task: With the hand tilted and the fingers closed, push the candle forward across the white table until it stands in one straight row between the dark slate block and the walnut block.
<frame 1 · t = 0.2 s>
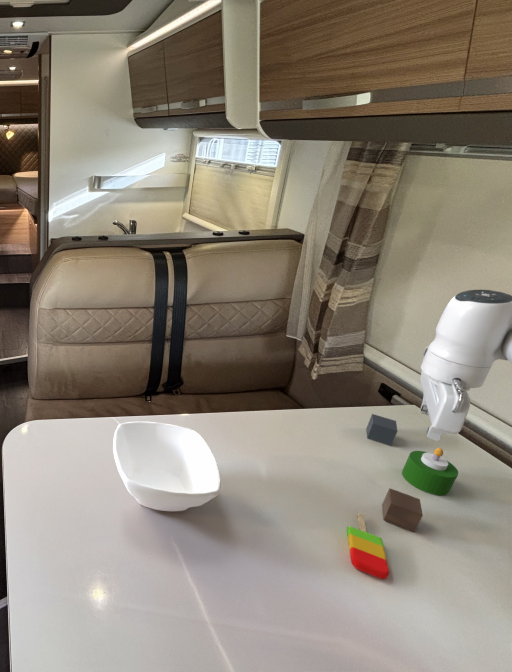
hand: (428, 424, 89), 21 cm above the table, tool pointing down, fingers open, 8 cm apart
bowl: (157, 492, 100), on the table
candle: (424, 481, 101), on the table
slate block: (378, 437, 115), on the table
walnut block: (397, 518, 92), on the table
popsicle: (363, 544, 87), on the table
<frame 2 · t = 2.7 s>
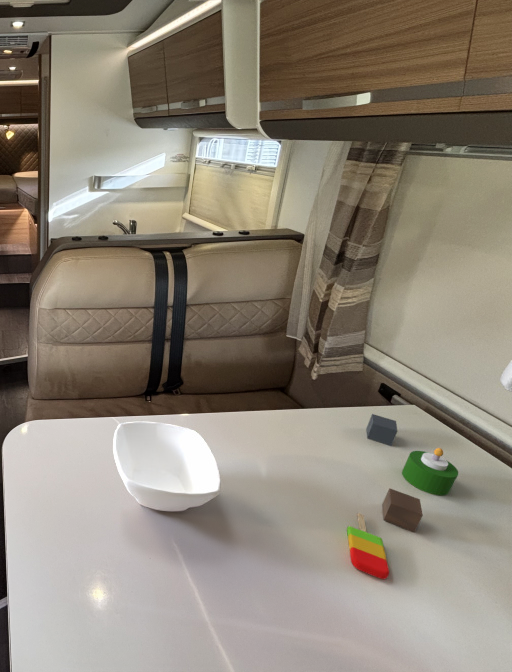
nothing on the table moved.
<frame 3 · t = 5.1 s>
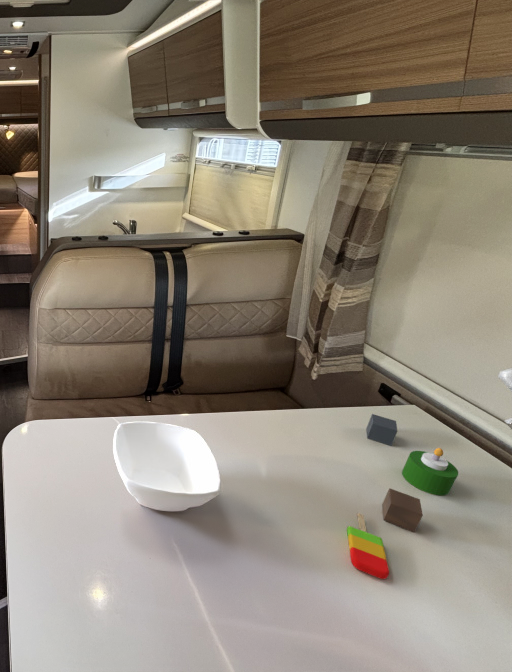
hand: (510, 427, 88), 21 cm above the table, tool tilted 50°, fingers closed
nothing on the table moved.
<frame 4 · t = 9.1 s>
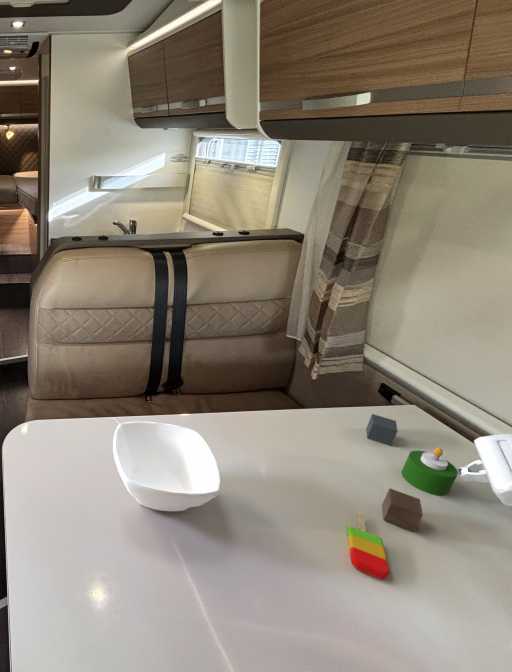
hand: (460, 475, 97), 5 cm above the table, tool tilted 45°, fingers closed, pressing on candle
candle: (424, 481, 101), on the table, touching gripper
everything else where it was.
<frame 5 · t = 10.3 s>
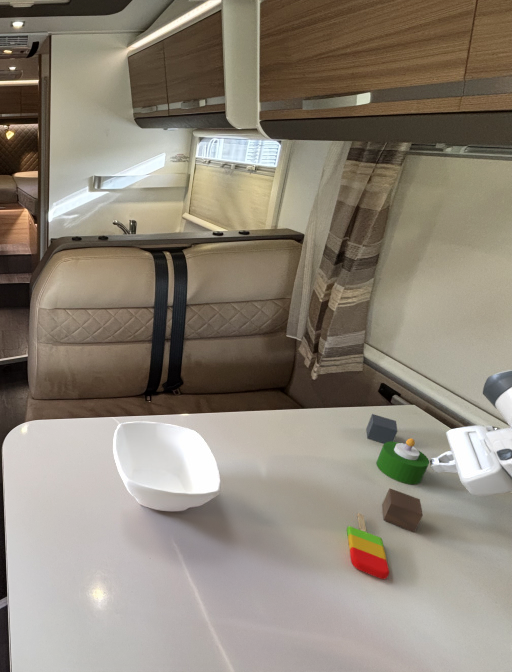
hand: (432, 465, 99), 5 cm above the table, tool tilted 45°, fingers closed, pressing on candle
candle: (397, 471, 104), on the table, touching gripper
everything else where it was.
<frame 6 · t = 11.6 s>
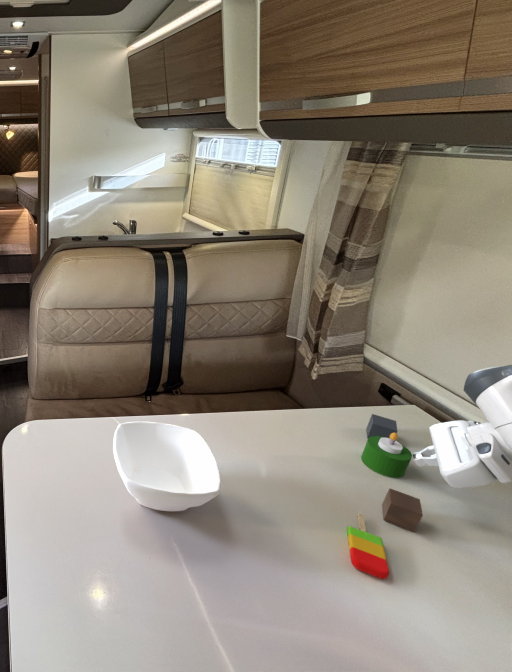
hand: (414, 460, 101), 5 cm above the table, tool tilted 45°, fingers closed
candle: (382, 465, 106), on the table, touching gripper
everything else where it was.
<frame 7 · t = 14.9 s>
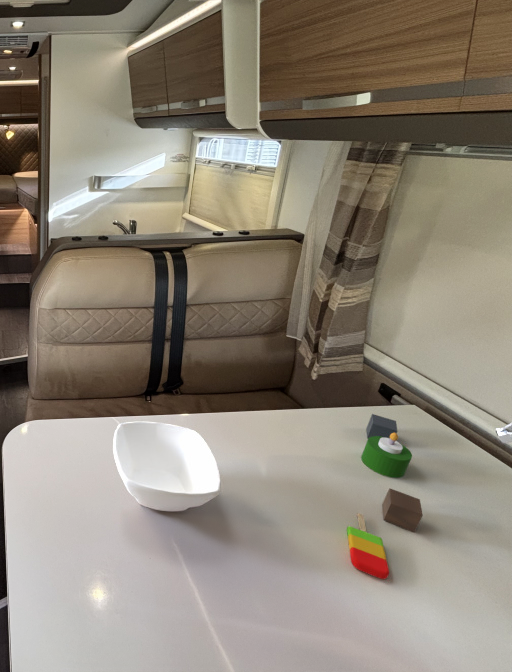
hand: (498, 436, 92), 17 cm above the table, tool tilted 45°, fingers closed
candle: (382, 465, 106), on the table
everything else where it was.
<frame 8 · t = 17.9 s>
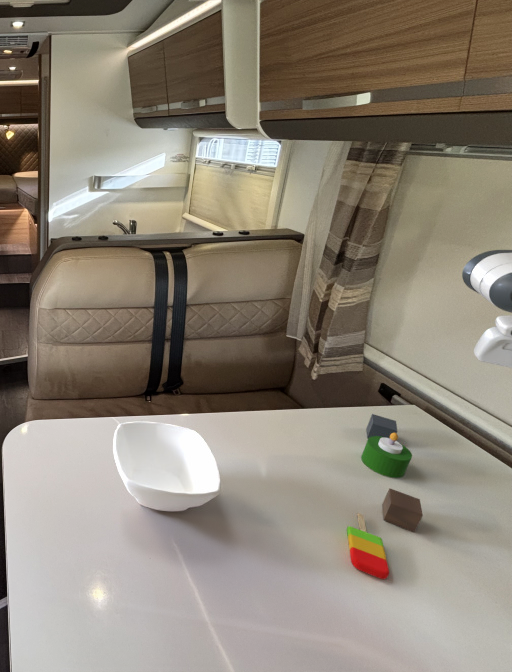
nothing on the table moved.
at the end: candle inside the target area on the table beside the slate block (1.1 cm from its centre), on the table; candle inside the target area on the table beside the walnut block (1.1 cm from its centre), on the table; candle tilted 0° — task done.
